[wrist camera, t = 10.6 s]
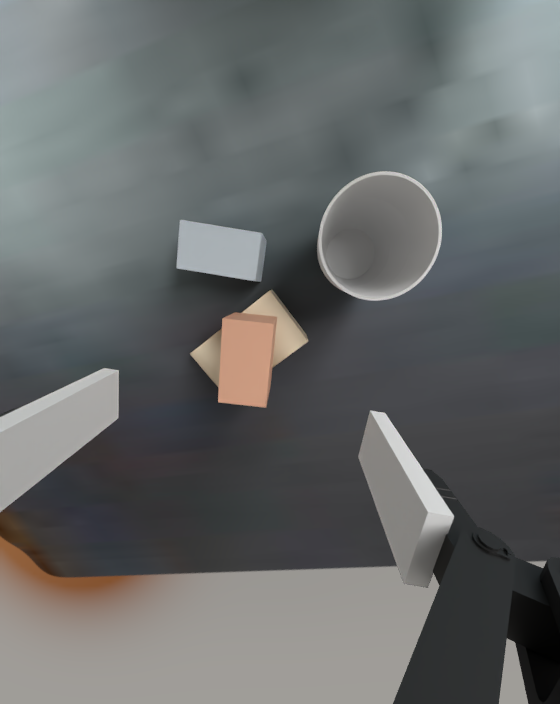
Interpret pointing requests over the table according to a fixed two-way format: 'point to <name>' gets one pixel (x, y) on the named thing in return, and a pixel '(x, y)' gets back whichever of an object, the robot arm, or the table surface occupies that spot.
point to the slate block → (221, 250)
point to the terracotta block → (246, 359)
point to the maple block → (285, 338)
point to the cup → (379, 236)
